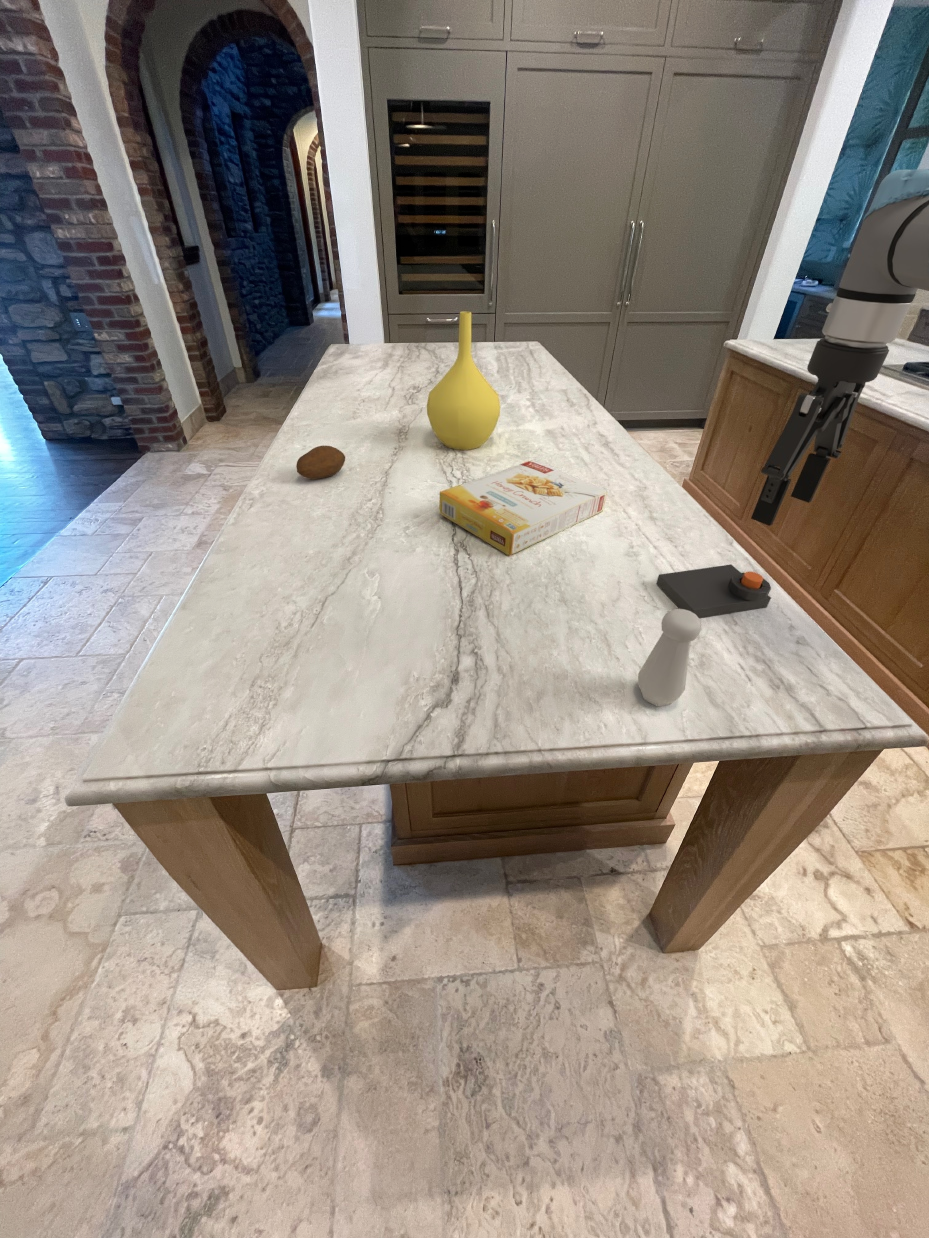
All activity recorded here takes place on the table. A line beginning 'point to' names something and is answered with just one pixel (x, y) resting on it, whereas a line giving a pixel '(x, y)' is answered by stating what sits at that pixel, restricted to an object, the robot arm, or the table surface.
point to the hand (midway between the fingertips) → (781, 509)
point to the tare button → (752, 580)
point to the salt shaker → (669, 658)
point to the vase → (463, 399)
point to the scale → (713, 591)
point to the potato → (320, 462)
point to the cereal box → (521, 504)
